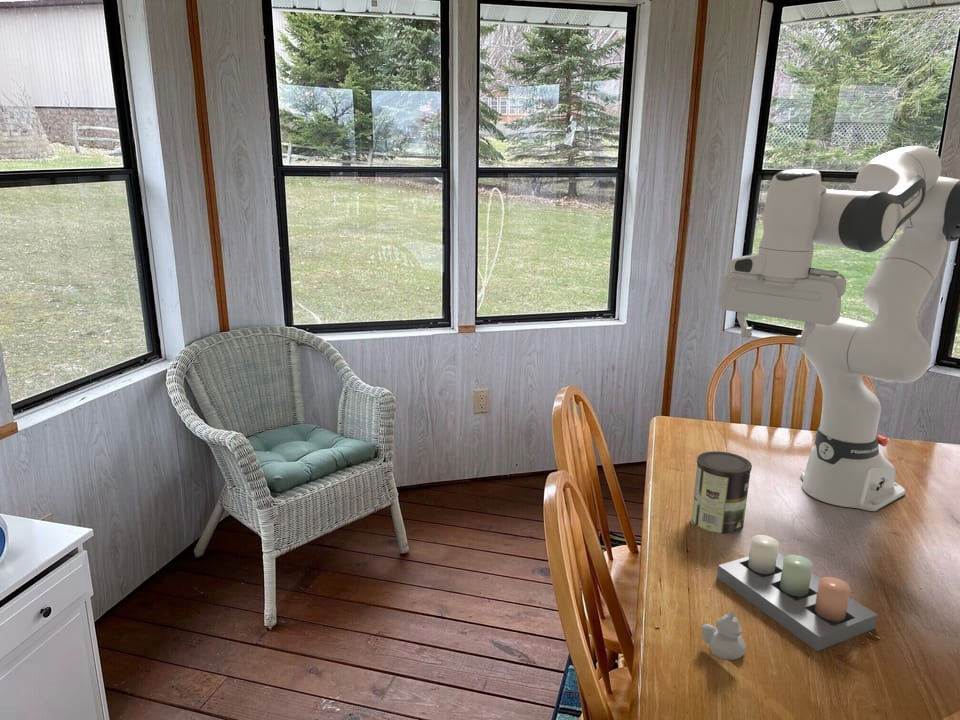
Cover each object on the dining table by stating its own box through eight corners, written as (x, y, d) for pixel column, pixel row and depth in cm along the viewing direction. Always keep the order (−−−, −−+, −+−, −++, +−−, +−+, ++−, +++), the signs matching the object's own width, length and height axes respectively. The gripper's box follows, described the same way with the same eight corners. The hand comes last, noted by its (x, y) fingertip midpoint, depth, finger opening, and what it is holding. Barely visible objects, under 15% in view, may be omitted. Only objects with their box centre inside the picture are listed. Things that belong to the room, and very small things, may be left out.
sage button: (792, 578, 122) (797, 552, 121) (814, 592, 118) (819, 565, 117) (773, 584, 120) (777, 558, 119) (795, 599, 117) (799, 572, 115)
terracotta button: (827, 601, 116) (832, 574, 115) (851, 616, 112) (857, 589, 111) (808, 608, 114) (813, 580, 113) (832, 624, 110) (837, 596, 109)
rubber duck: (737, 673, 105) (743, 626, 103) (693, 653, 109) (698, 608, 107) (749, 653, 109) (755, 607, 107) (706, 635, 113) (712, 591, 111)
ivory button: (761, 557, 128) (764, 532, 127) (780, 570, 124) (784, 544, 123) (742, 563, 126) (745, 538, 125) (761, 576, 123) (765, 550, 121)
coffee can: (739, 515, 150) (747, 453, 146) (746, 541, 140) (755, 475, 136) (688, 510, 152) (695, 448, 148) (692, 535, 142) (699, 469, 138)
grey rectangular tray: (770, 565, 132) (773, 548, 131) (874, 633, 114) (877, 614, 113) (716, 582, 127) (718, 565, 126) (815, 656, 109) (819, 637, 108)
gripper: (852, 269, 123) (838, 348, 127) (732, 257, 134) (723, 329, 138) (844, 274, 118) (830, 355, 122) (720, 260, 130) (711, 335, 133)
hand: (772, 341), depth 130 cm, fingers open, 8 cm apart
